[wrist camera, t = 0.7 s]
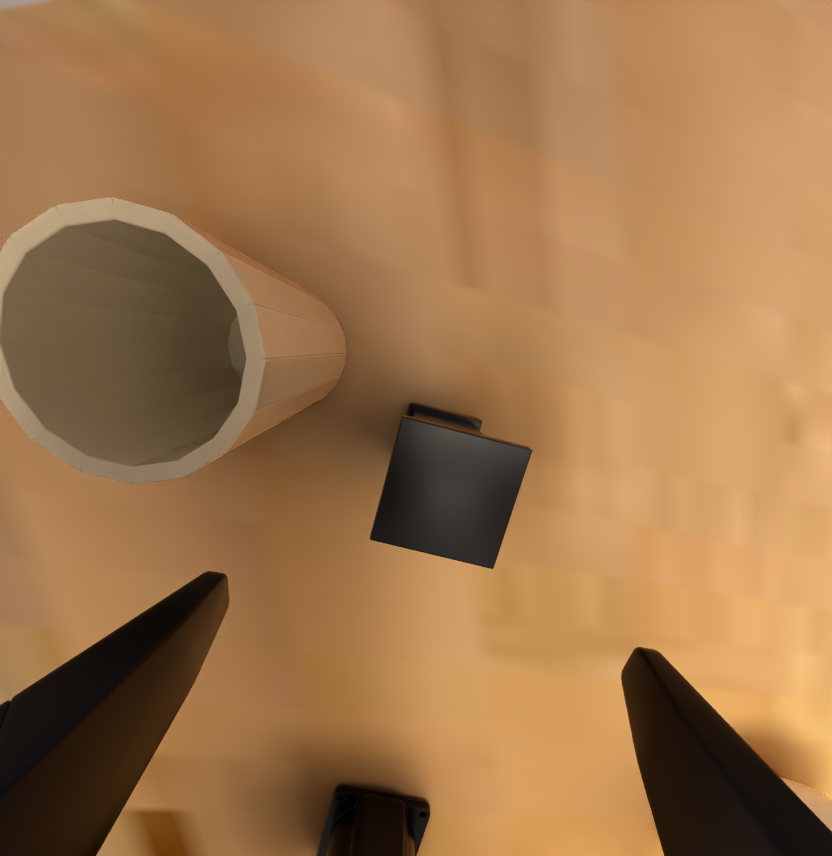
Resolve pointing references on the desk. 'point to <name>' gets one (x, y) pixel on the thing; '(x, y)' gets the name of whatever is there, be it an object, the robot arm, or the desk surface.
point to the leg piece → (449, 487)
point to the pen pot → (152, 341)
